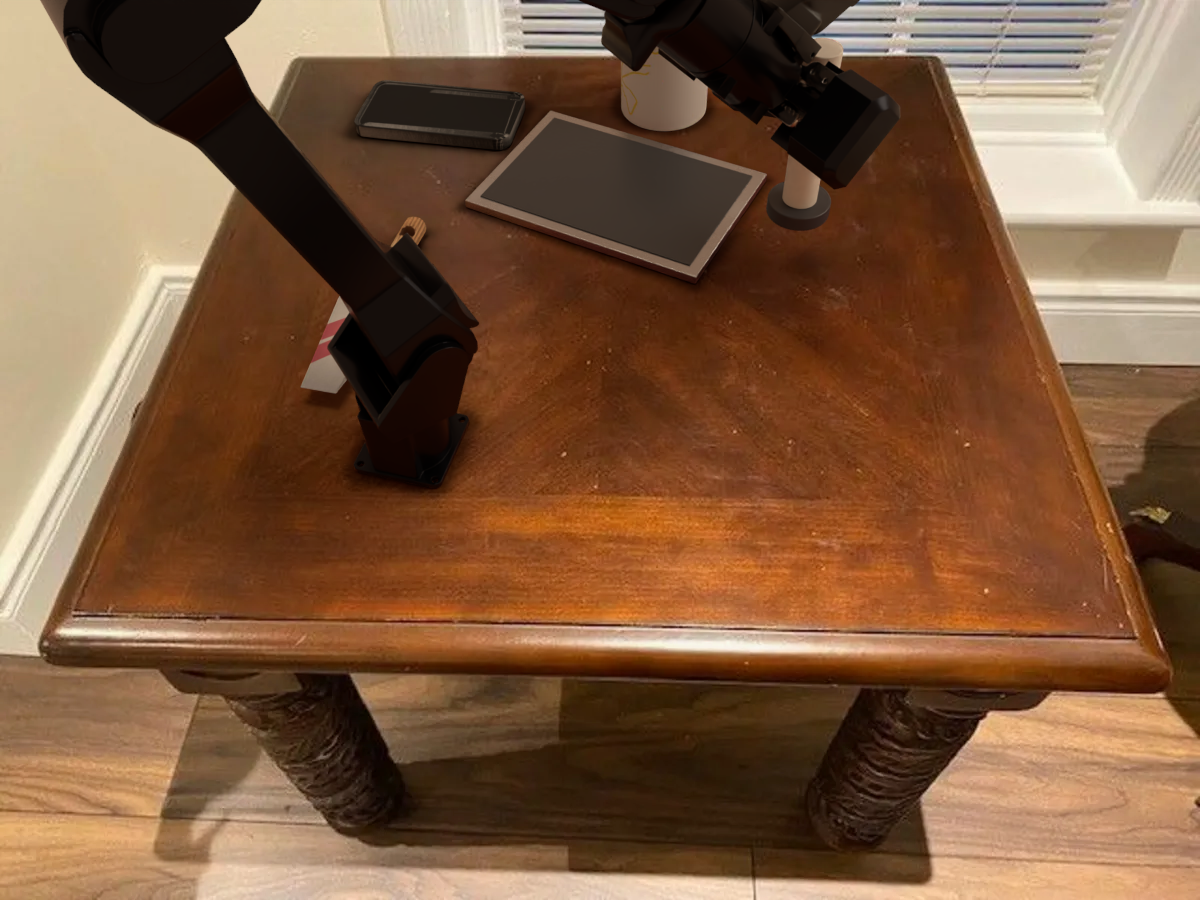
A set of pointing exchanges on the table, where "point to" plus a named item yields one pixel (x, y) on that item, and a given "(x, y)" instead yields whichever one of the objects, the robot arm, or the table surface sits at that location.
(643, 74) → the cup
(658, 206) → the tablet
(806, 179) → the peg on round base
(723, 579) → the table surface
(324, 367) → the paintbrush
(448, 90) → the phone
